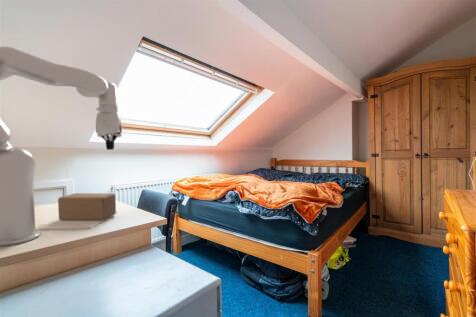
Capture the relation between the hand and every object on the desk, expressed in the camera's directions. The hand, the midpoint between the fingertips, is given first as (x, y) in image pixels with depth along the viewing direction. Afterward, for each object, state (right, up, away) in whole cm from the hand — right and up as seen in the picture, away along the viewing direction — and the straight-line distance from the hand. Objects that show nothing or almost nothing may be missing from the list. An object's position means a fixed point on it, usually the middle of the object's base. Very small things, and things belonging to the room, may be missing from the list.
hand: (110, 149), depth 108 cm
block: (+4, -26, -7) cm, 27 cm away
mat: (-8, -31, -8) cm, 33 cm away
